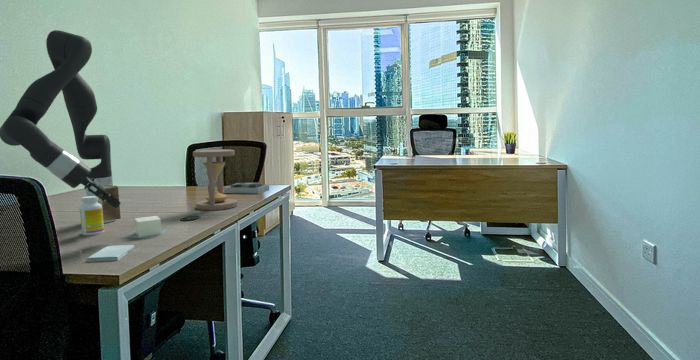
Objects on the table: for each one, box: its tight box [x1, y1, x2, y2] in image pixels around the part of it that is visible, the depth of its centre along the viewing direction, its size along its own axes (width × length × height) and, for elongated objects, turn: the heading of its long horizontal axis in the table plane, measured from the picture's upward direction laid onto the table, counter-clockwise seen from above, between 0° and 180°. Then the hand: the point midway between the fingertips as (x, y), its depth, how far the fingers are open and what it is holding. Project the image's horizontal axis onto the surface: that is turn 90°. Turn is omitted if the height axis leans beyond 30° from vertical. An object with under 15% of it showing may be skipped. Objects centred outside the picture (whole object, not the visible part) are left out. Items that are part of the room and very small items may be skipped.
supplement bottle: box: [79, 196, 105, 236], centre depth 153 cm, size 7×7×13 cm
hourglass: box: [192, 149, 238, 211], centre depth 198 cm, size 18×18×25 cm
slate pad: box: [122, 228, 172, 239], centre depth 151 cm, size 11×12×1 cm
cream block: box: [134, 215, 162, 237], centre depth 151 cm, size 7×7×5 cm
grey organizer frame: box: [223, 183, 270, 195], centre depth 244 cm, size 20×15×3 cm
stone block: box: [230, 181, 262, 188], centre depth 241 cm, size 9×14×5 cm, turn 77°
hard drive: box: [86, 244, 135, 263], centre depth 128 cm, size 2×8×12 cm
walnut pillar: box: [101, 185, 122, 221], centre depth 141 cm, size 4×4×10 cm
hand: (117, 204), depth 142 cm, fingers closed on walnut pillar, 4 cm apart
